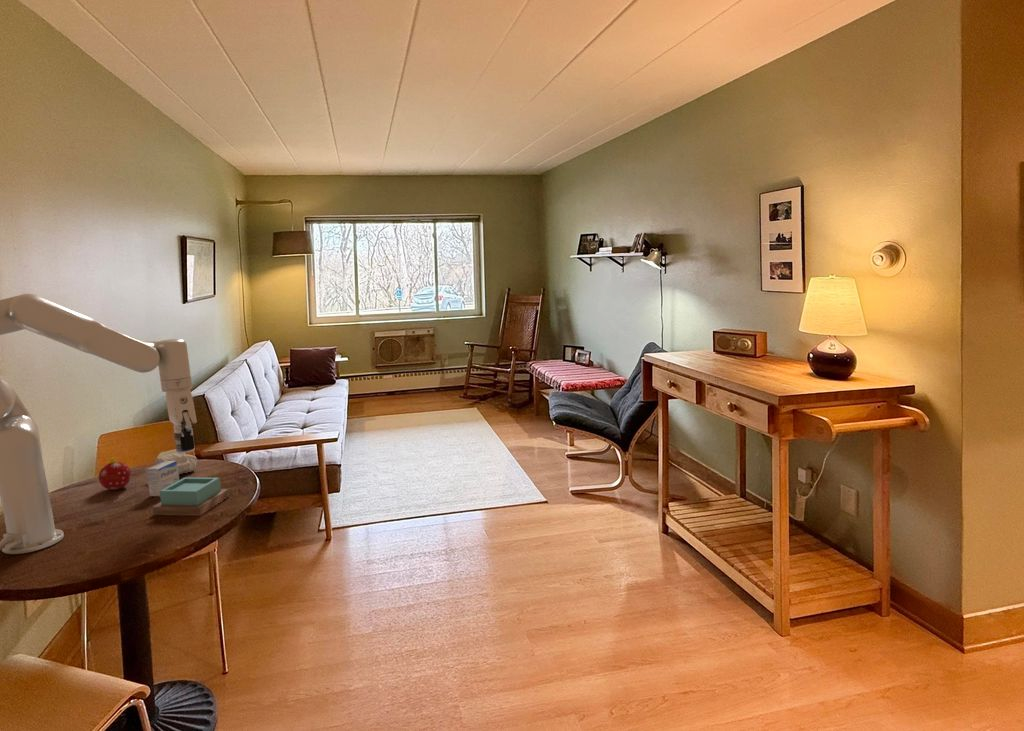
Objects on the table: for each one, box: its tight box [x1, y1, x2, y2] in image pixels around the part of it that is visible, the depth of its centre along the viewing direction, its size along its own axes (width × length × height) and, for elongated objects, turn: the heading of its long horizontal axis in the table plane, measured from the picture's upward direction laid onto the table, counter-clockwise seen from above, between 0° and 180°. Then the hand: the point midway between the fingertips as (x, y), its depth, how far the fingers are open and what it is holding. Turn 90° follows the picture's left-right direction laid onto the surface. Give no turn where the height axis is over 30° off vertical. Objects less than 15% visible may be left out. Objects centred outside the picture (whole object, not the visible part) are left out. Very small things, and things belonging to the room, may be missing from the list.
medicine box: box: [145, 461, 180, 497], centre depth 195 cm, size 8×4×9 cm, turn 168°
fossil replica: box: [154, 448, 198, 476], centre depth 212 cm, size 12×8×10 cm
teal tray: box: [159, 476, 222, 505], centre depth 183 cm, size 11×11×4 cm
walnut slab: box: [152, 488, 231, 517], centre depth 183 cm, size 14×14×3 cm
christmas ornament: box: [98, 457, 132, 491], centre depth 200 cm, size 9×9×10 cm
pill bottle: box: [173, 423, 196, 454], centre depth 180 cm, size 5×5×8 cm
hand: (185, 447), depth 181 cm, fingers closed on pill bottle, 4 cm apart
